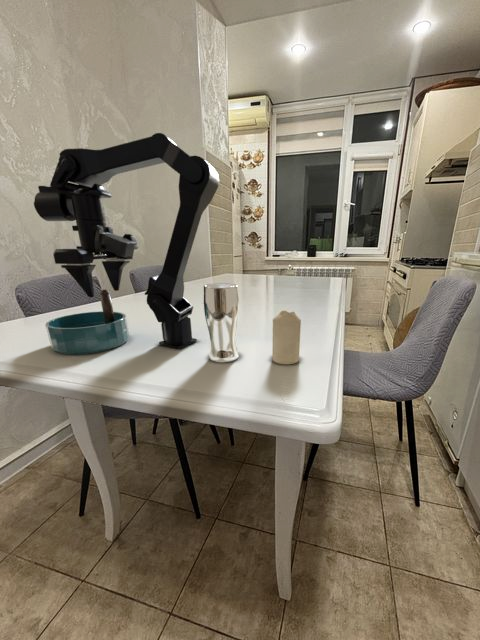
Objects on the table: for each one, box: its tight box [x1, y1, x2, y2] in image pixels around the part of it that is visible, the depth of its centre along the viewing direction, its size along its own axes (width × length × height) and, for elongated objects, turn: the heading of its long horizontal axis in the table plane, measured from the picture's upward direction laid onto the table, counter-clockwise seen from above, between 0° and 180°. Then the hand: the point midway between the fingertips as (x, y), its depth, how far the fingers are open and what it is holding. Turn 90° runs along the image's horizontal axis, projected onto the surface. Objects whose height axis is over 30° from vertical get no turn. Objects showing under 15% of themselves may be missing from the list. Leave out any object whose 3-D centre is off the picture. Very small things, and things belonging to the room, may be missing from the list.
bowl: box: [45, 310, 130, 355], centre depth 69 cm, size 16×16×6 cm
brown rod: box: [99, 288, 115, 324], centre depth 70 cm, size 3×3×12 cm
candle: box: [271, 310, 302, 365], centre depth 58 cm, size 6×6×10 cm
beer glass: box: [203, 282, 240, 363], centre depth 59 cm, size 7×7×15 cm
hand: (104, 293), depth 68 cm, fingers open, 9 cm apart
